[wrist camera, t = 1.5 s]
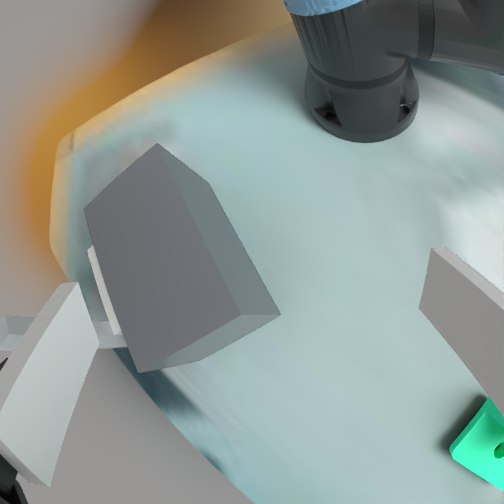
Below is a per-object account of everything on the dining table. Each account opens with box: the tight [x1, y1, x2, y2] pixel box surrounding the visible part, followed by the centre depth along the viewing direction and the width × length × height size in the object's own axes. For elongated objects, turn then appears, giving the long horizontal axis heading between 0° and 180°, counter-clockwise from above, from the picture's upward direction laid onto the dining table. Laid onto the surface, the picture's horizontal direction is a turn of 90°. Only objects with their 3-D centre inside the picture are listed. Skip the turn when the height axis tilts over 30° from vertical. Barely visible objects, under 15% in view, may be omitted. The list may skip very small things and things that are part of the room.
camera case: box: [84, 143, 281, 373], centre depth 35 cm, size 20×12×12 cm, turn 30°
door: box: [0, 245, 128, 351], centre depth 31 cm, size 10×5×22 cm, turn 30°
